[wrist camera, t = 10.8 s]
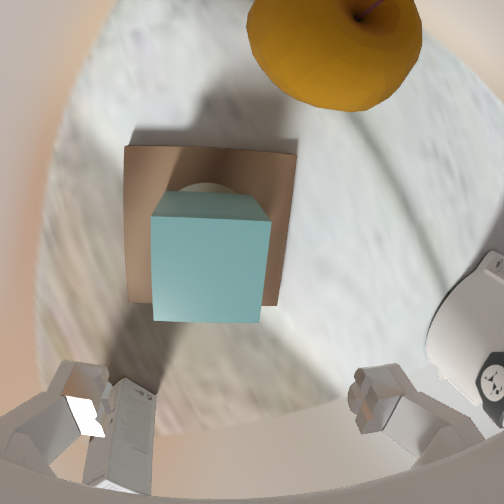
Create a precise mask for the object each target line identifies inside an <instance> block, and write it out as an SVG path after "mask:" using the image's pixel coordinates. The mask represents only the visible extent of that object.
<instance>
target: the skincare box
mask: <svg viewBox="0 0 504 504" xmlns="http://www.w3.org/2000/svg"><path fill="white" fill-rule="evenodd" d="M113 392H114V403H113V408H112V412H111V413H109V414H108V415H107V418H108V421H109V424H108V427H107V431H106V435H105V437H100V436H93V435H91V436H90V441H89V446H88V451H87V457H86V462H85V468H84V474H83V482H82V484H84V485H88V486H93V487H98V488H103V489H108V490H114V491H120V492H127V493H133V494H141V495H150V496H151V481H152V453H153V438H154V423H155V410H156V396H155V395H154V394H152V393H151V392H149V391H147V390H146V389H144V388H142V387H141V386H139V385H138V384H136V383H134V382H133V381H131V380H129V379H127V378H122V379H121V380H120V381H119V382H117V383H116V384H115V385H114V386H113Z"/></svg>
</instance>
